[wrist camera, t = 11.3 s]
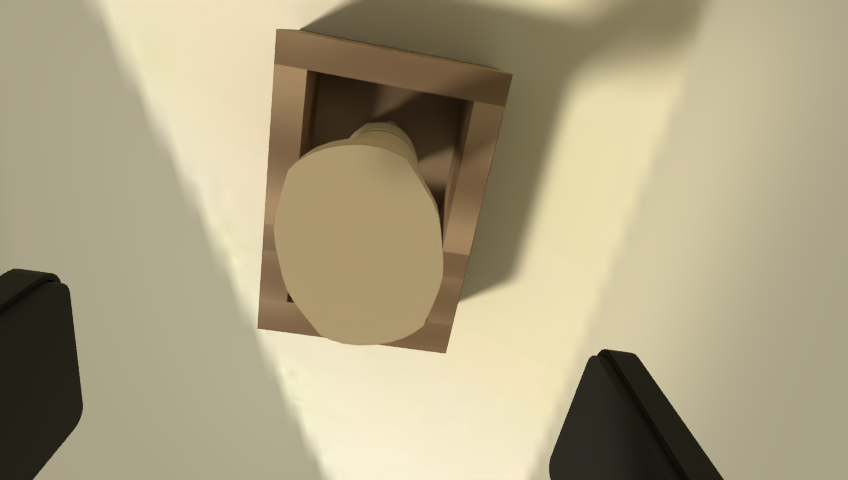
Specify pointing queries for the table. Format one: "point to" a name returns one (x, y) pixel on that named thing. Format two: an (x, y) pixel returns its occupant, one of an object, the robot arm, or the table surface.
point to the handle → (360, 237)
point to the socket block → (414, 114)
